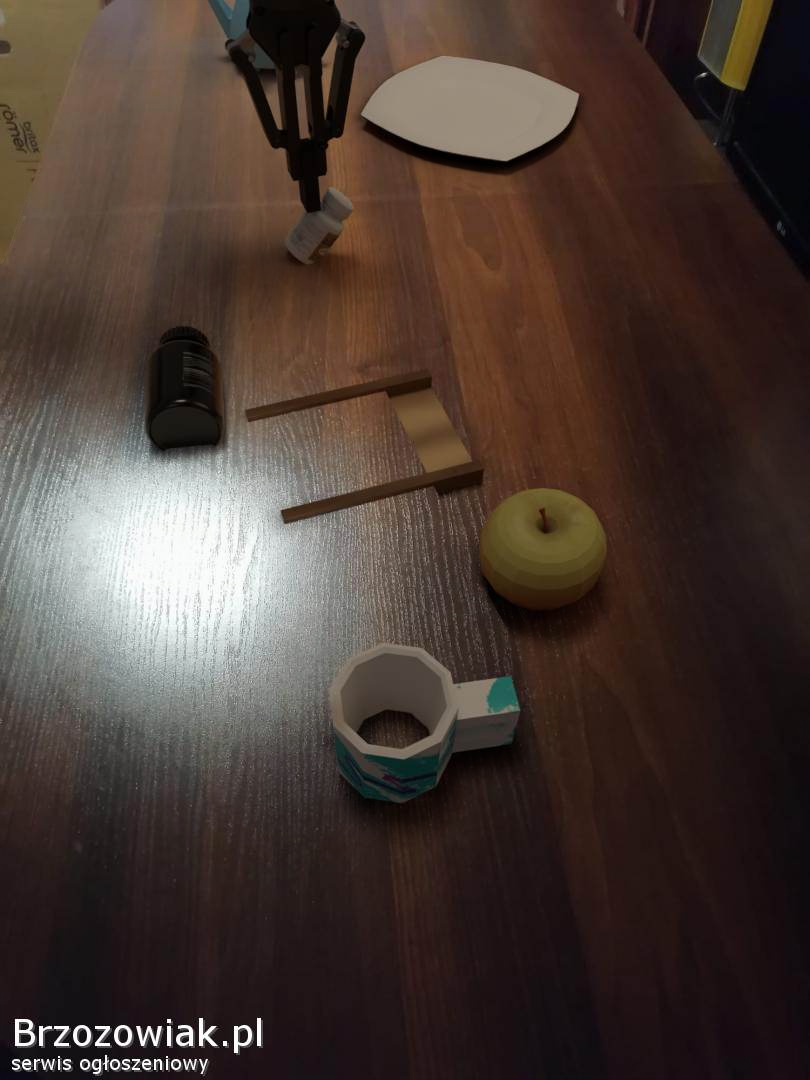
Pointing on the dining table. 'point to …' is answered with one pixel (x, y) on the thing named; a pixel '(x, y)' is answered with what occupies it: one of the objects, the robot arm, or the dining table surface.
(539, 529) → the apple
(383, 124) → the plate
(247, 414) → the brown u-shaped piece
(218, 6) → the teapot
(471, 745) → the mug
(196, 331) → the supplement bottle
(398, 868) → the dining table surface
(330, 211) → the pill bottle
